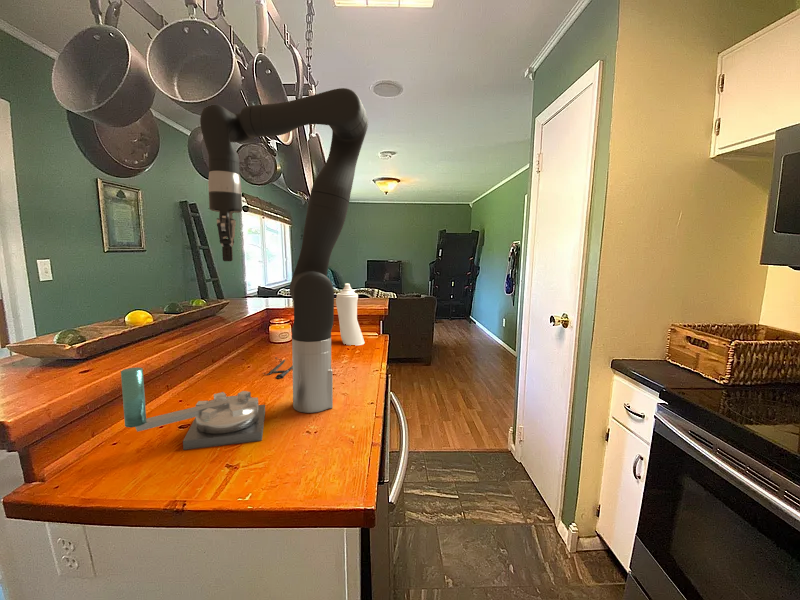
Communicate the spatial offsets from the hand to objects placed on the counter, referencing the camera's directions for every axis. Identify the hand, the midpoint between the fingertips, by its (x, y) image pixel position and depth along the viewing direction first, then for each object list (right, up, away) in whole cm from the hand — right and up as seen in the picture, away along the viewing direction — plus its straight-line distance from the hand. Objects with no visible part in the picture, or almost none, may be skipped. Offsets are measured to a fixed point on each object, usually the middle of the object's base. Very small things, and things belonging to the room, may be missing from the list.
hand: (227, 261), depth 96 cm
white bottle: (+24, -28, +61) cm, 71 cm away
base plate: (+8, -38, -17) cm, 42 cm away
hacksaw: (+5, -33, +27) cm, 43 cm away
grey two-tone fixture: (+4, -36, -21) cm, 42 cm away
